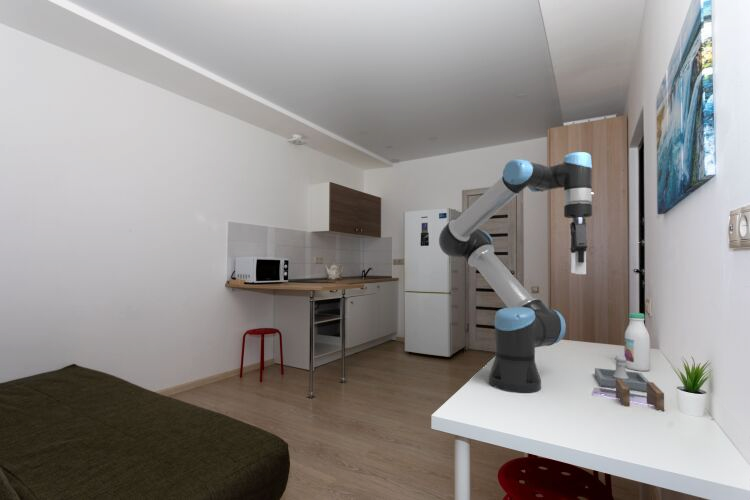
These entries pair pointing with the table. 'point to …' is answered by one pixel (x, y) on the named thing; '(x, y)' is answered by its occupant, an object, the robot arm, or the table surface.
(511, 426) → the table surface
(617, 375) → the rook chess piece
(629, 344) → the milk bottle
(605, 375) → the charcoal tray
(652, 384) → the walnut bracket
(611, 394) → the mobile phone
